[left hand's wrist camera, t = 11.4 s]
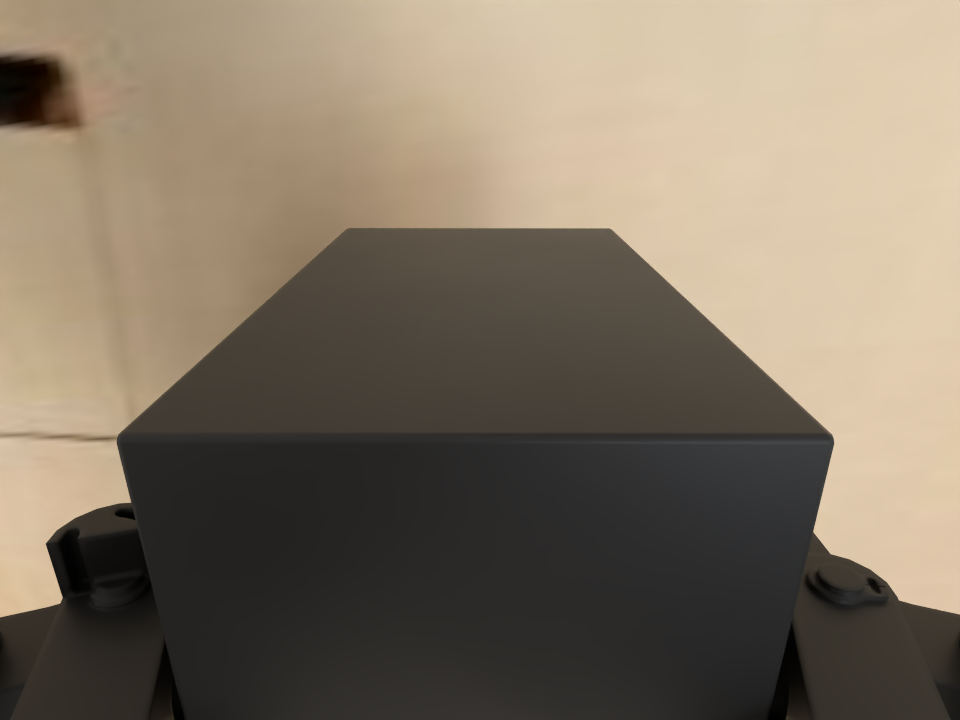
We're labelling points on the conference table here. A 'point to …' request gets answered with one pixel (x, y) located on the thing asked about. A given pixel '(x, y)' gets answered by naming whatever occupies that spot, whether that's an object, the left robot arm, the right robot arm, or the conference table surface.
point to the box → (476, 493)
